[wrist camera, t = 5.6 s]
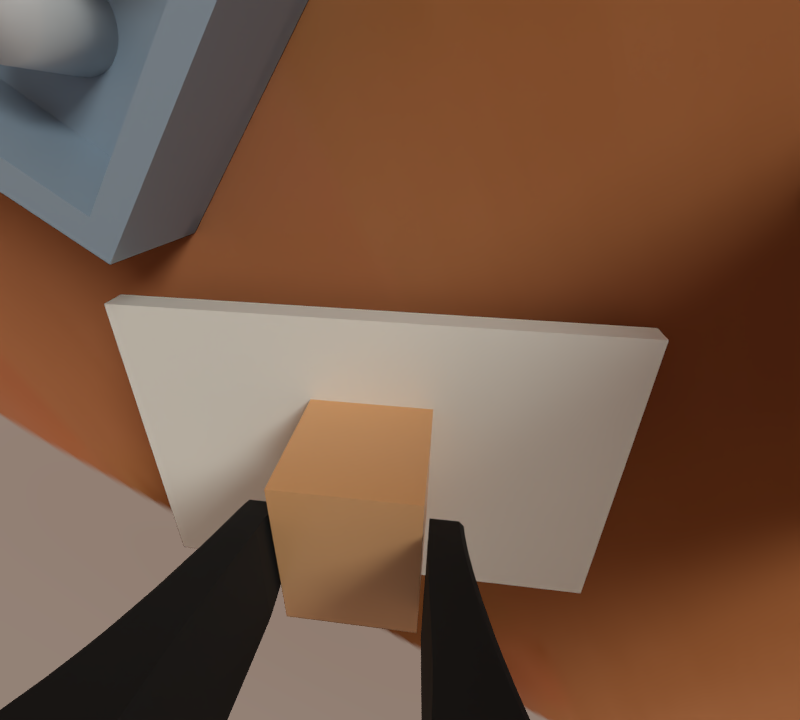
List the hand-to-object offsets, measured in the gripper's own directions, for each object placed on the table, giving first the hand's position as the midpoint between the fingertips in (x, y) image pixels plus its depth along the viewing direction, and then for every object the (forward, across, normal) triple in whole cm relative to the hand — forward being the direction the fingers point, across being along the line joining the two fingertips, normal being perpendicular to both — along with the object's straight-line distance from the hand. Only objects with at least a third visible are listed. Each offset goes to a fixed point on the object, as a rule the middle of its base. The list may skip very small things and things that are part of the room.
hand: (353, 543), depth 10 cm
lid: (+3, 0, 0) cm, 3 cm away
